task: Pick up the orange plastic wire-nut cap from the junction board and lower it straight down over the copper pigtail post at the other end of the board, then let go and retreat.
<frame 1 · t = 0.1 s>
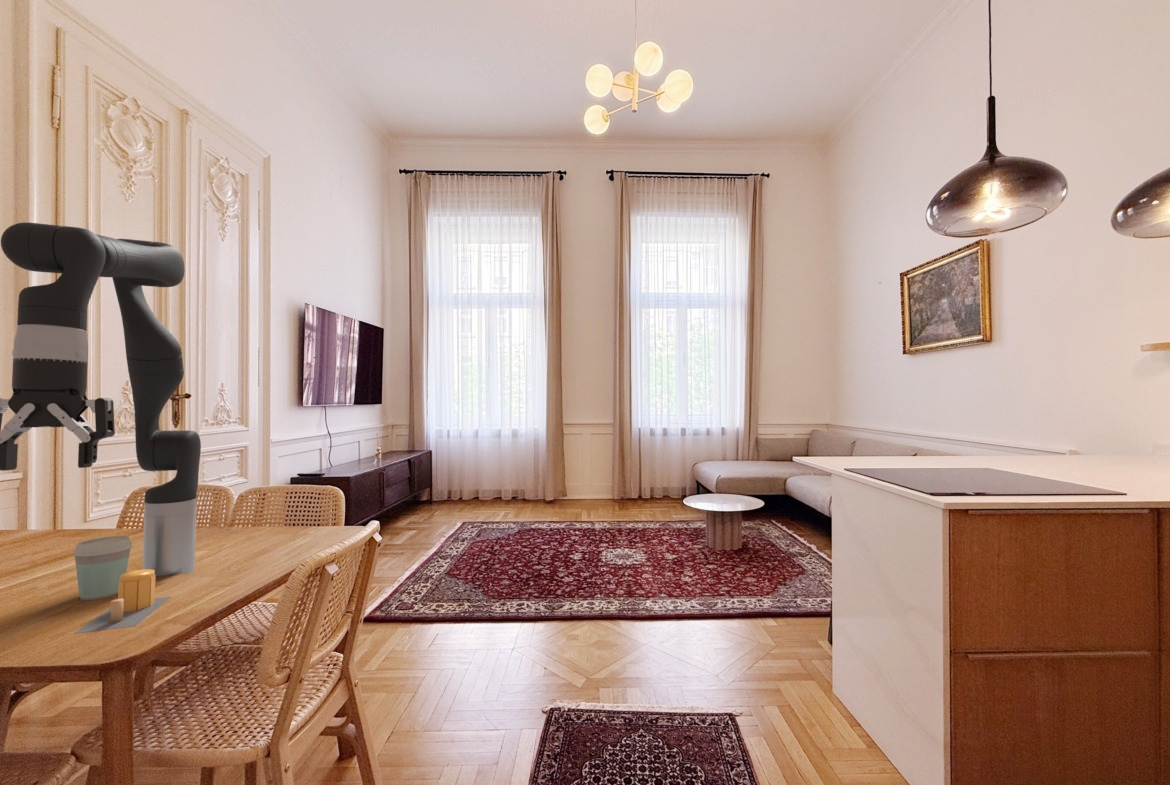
hand: (47, 468, 72), 29 cm above the table, tool pointing down, fingers open, 8 cm apart
coffee cup: (101, 602, 98), on the table
junction board: (126, 621, 88), on the table
wire nut: (136, 606, 91), point 1 cm above the table, touching junction board
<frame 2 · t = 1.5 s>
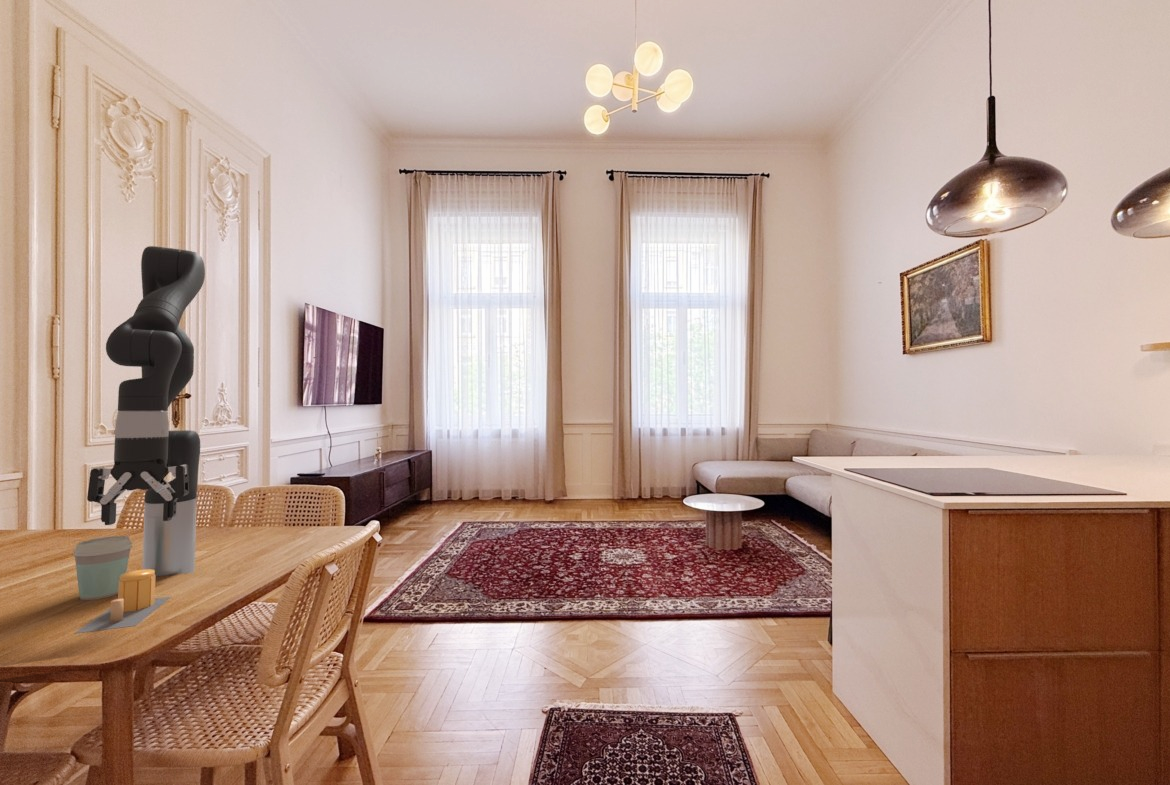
hand: (139, 522, 92), 17 cm above the table, tool pointing down, fingers open, 8 cm apart
nothing on the table moved.
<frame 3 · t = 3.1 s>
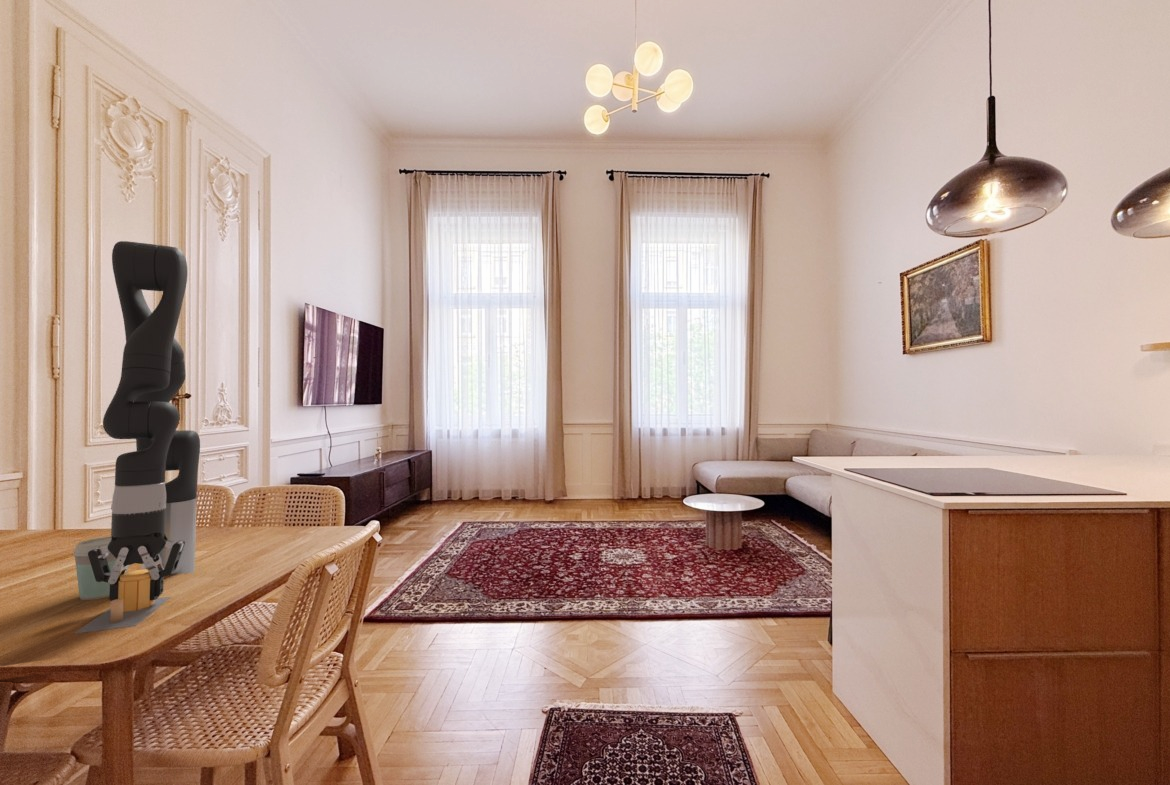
hand: (136, 600, 91), 3 cm above the table, tool pointing down, fingers closed on wire nut, 4 cm apart
wire nut: (136, 606, 91), point 2 cm above the table, touching gripper, junction board
everything else where it was.
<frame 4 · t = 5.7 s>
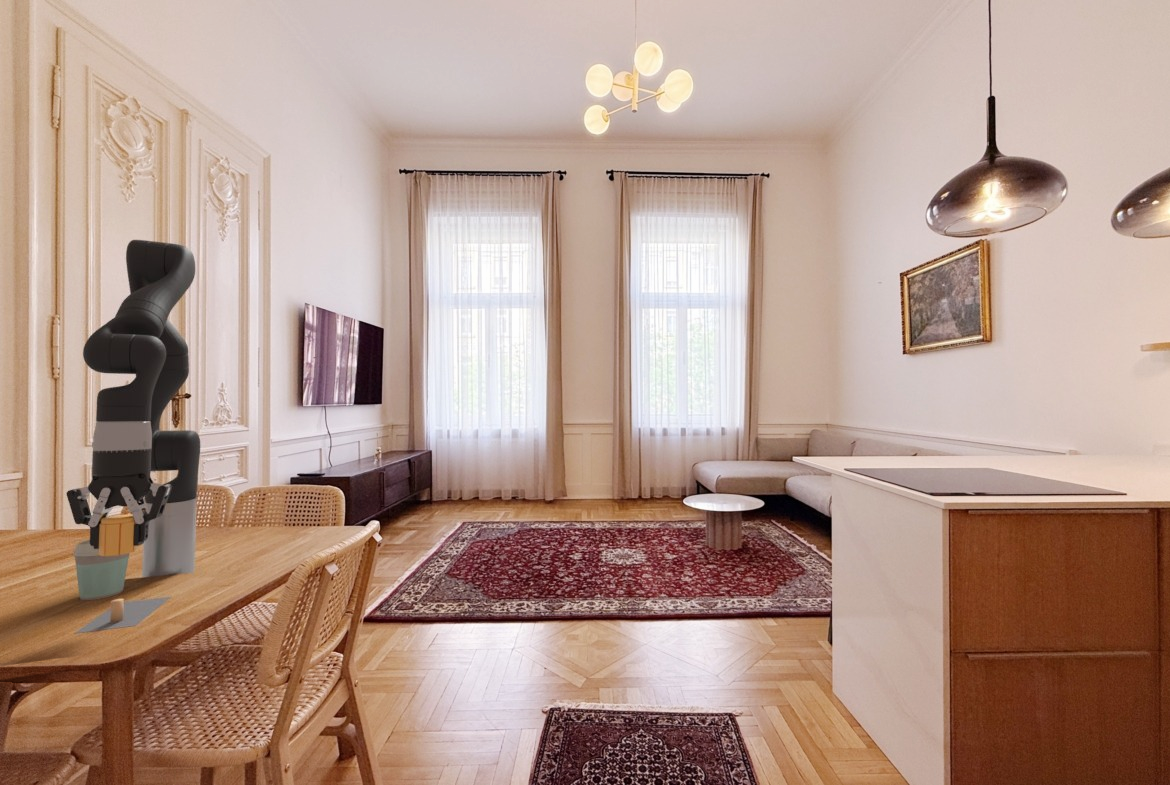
hand: (119, 545, 85), 14 cm above the table, tool pointing down, fingers closed on wire nut, 4 cm apart
wire nut: (119, 552, 85), point 13 cm above the table, touching gripper
everything else where it was.
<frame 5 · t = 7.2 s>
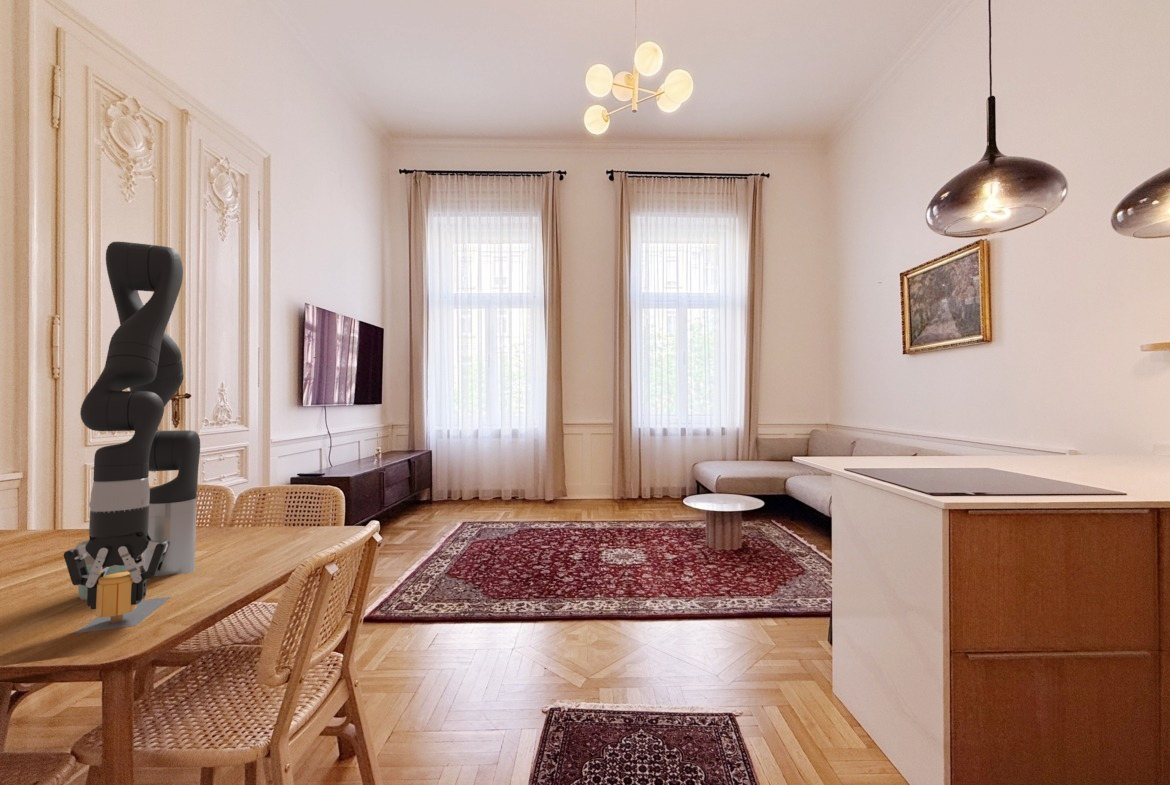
hand: (116, 605, 85), 4 cm above the table, tool pointing down, fingers closed on wire nut, 4 cm apart
wire nut: (116, 611, 85), point 3 cm above the table, touching gripper
everything else where it was.
when the fingers open (4 cm above the table, at t = 8.4 s): wire nut stays where it is, resting on junction board.
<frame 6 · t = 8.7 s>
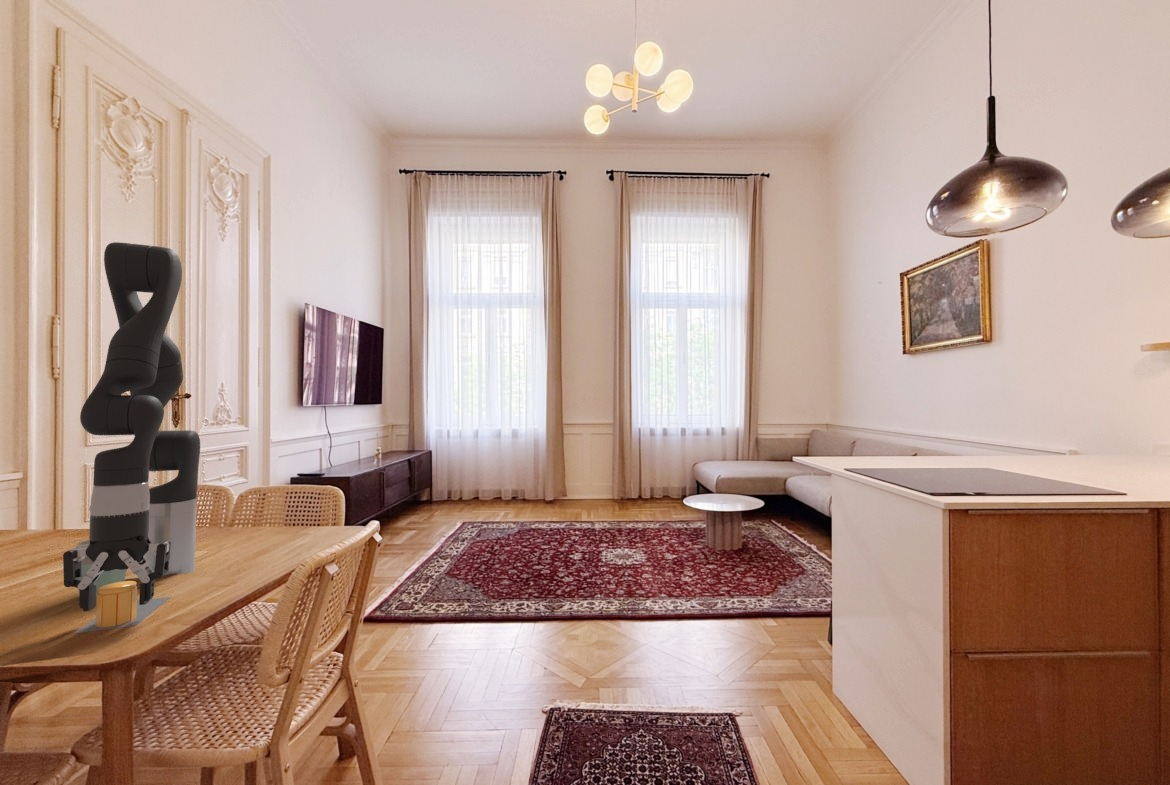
hand: (117, 606, 85), 4 cm above the table, tool pointing down, fingers open, 7 cm apart
wire nut: (116, 621, 85), point 1 cm above the table, touching junction board
everything else where it was.
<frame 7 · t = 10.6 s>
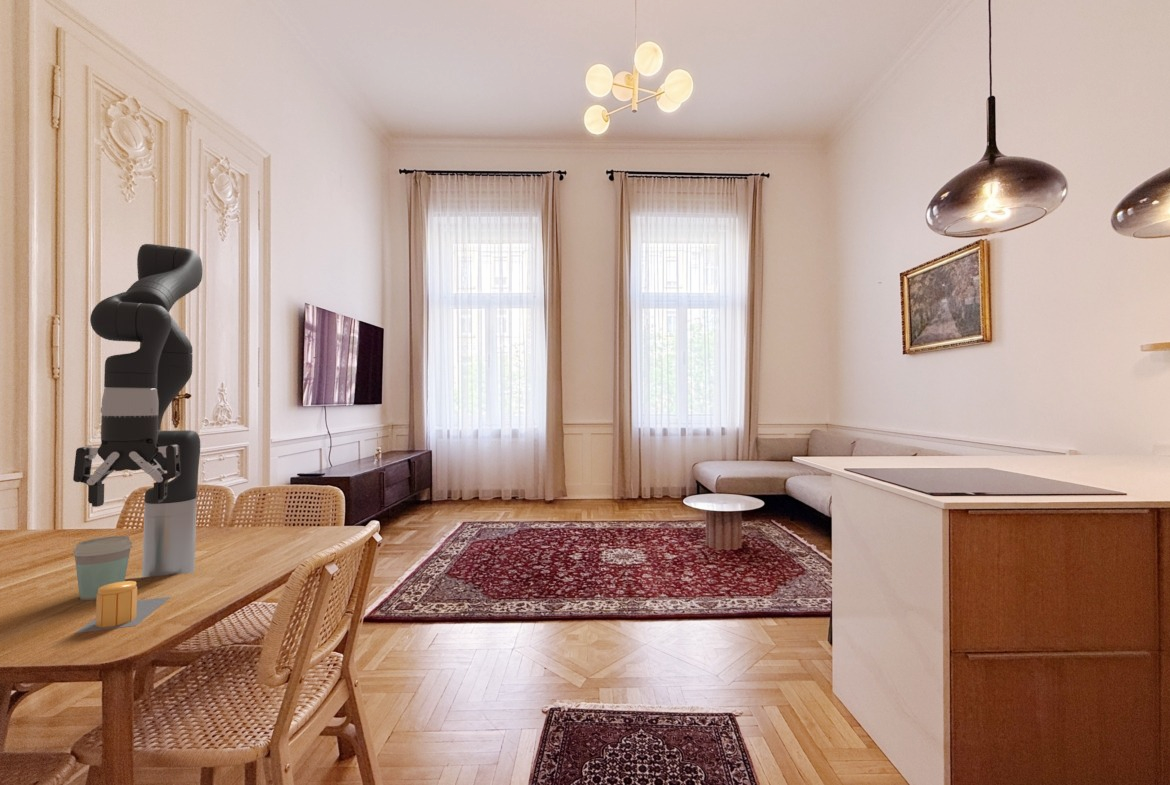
hand: (128, 504, 88), 21 cm above the table, tool pointing down, fingers open, 8 cm apart
nothing on the table moved.
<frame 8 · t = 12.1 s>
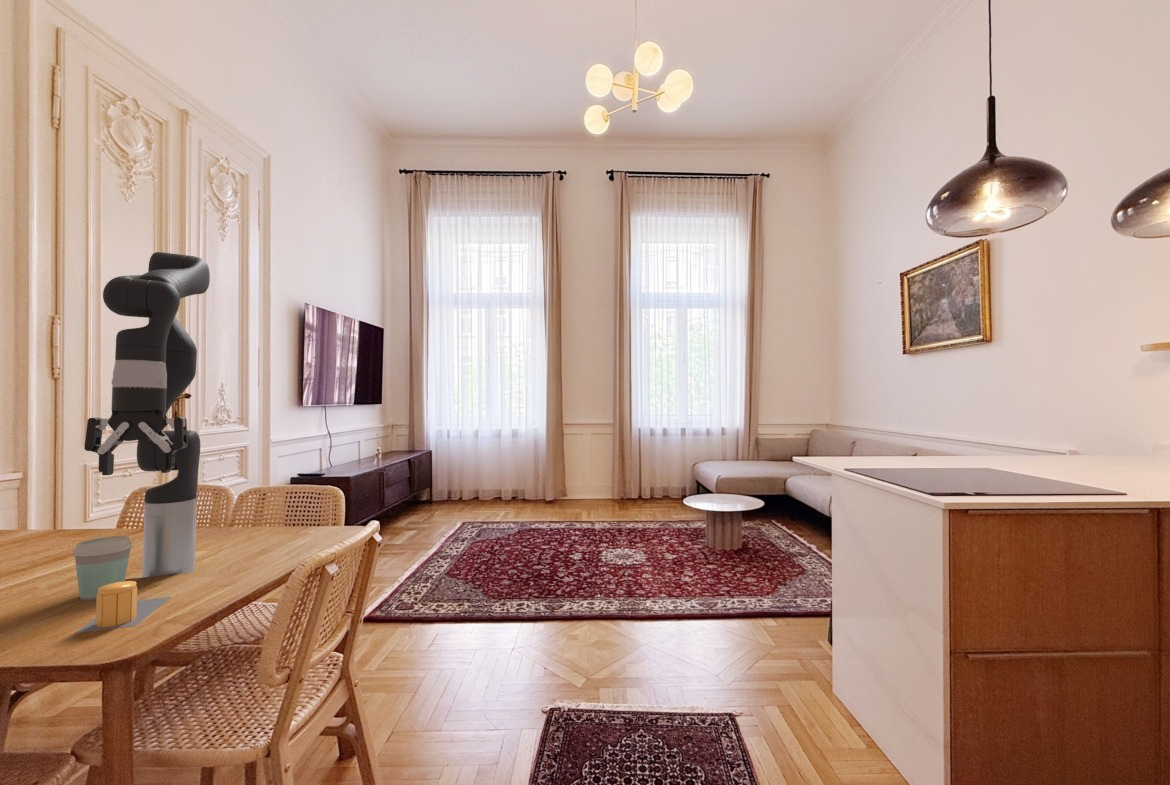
hand: (137, 473, 91), 26 cm above the table, tool pointing down, fingers open, 8 cm apart
nothing on the table moved.
at the end: wire nut 0.0 cm from the target spot on the junction board, point 1.5 cm above the junction board's base; wire nut tilted 0°; the gripper is holding nothing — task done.
